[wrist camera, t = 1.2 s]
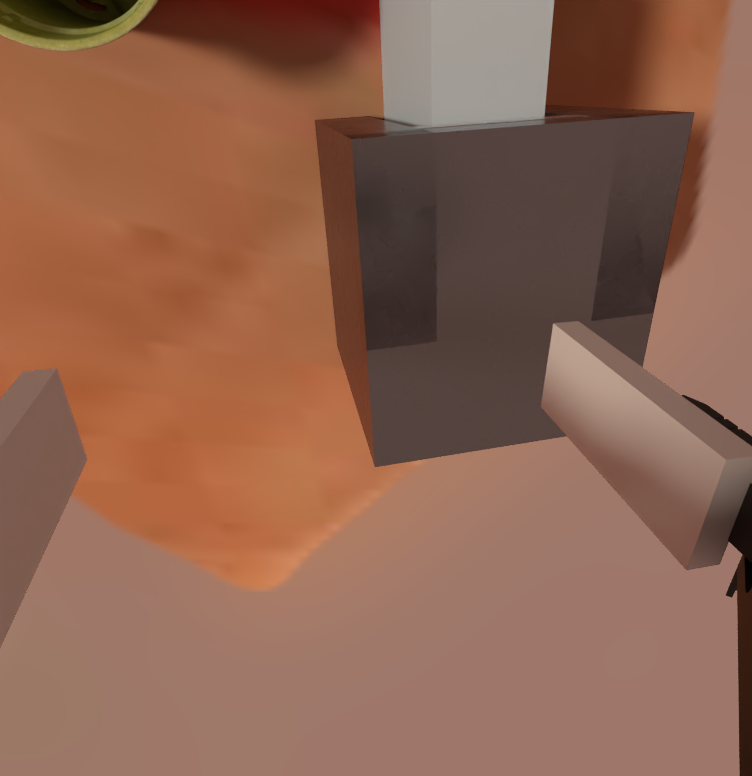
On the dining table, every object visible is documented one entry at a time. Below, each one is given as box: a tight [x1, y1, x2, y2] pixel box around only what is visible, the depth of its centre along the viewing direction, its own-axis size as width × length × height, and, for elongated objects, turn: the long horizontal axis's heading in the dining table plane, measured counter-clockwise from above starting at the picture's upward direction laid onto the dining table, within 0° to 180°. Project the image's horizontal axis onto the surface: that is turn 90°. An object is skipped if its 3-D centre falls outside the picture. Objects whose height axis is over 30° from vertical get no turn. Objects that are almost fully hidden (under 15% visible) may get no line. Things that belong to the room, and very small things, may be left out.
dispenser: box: [315, 105, 694, 467], centre depth 29 cm, size 14×13×14 cm
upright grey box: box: [379, 0, 554, 127], centre depth 26 cm, size 10×5×10 cm, turn 3°
